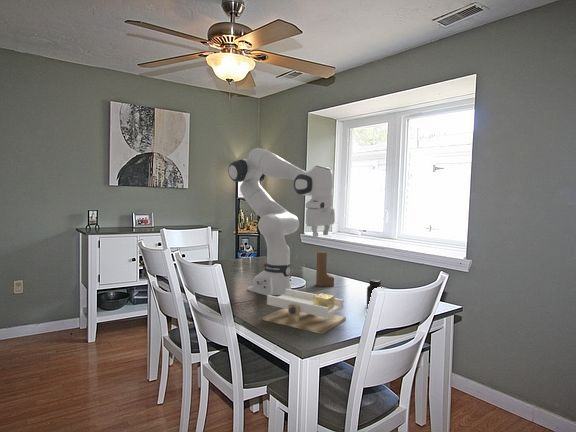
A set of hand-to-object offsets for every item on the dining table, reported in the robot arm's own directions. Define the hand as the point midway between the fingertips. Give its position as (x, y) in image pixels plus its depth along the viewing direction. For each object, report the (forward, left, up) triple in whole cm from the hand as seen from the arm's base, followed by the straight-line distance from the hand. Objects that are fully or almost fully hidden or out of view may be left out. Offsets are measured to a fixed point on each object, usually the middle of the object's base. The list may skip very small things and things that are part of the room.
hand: (320, 235), depth 172 cm
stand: (+4, -19, -31) cm, 37 cm away
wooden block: (-16, +38, -31) cm, 52 cm away
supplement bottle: (+20, +15, -31) cm, 40 cm away
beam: (+4, -19, -25) cm, 32 cm away
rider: (+12, -19, -24) cm, 33 cm away
